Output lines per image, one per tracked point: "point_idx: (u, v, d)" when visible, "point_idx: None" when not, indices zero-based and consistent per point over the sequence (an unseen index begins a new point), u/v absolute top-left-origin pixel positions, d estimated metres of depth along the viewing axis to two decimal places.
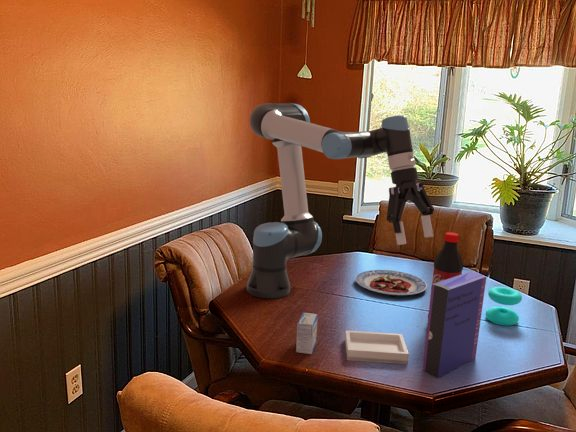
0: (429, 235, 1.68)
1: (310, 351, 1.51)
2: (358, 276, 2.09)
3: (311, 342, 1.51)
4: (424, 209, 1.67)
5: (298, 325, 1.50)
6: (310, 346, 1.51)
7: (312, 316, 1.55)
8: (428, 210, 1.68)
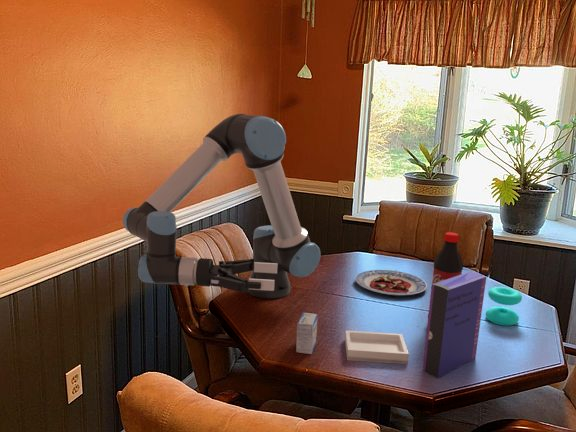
0: None
1: (310, 351, 1.51)
2: (358, 276, 2.09)
3: (311, 342, 1.51)
4: None
5: (298, 325, 1.50)
6: (310, 346, 1.51)
7: (312, 316, 1.55)
8: None
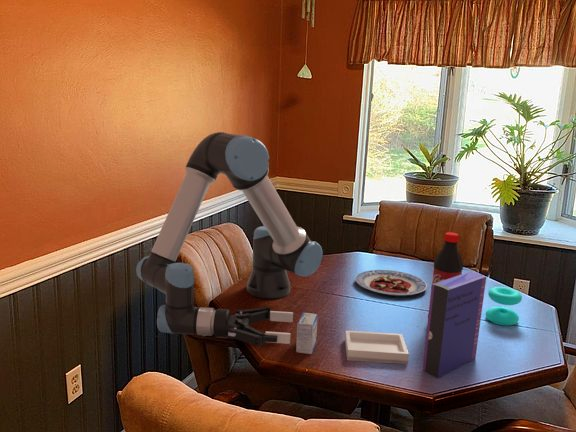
0: None
1: (310, 351, 1.51)
2: (358, 276, 2.09)
3: (311, 342, 1.51)
4: None
5: (298, 325, 1.50)
6: (310, 346, 1.51)
7: (312, 316, 1.55)
8: None
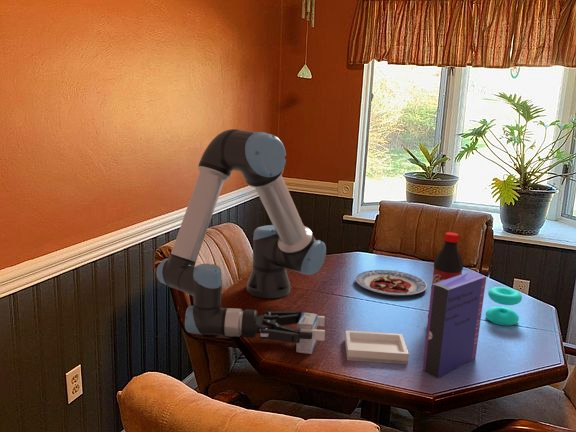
0: None
1: (310, 351, 1.51)
2: (358, 276, 2.09)
3: (311, 342, 1.51)
4: None
5: (298, 325, 1.50)
6: (310, 346, 1.51)
7: (312, 316, 1.55)
8: None
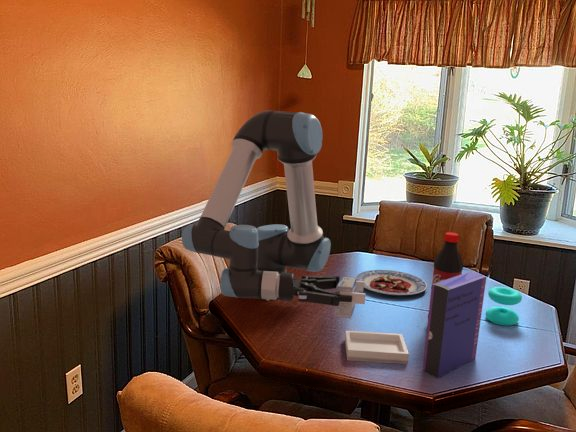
0: None
1: (349, 315, 1.46)
2: (358, 276, 2.09)
3: (350, 306, 1.46)
4: None
5: (337, 288, 1.45)
6: (349, 310, 1.46)
7: (351, 280, 1.50)
8: None
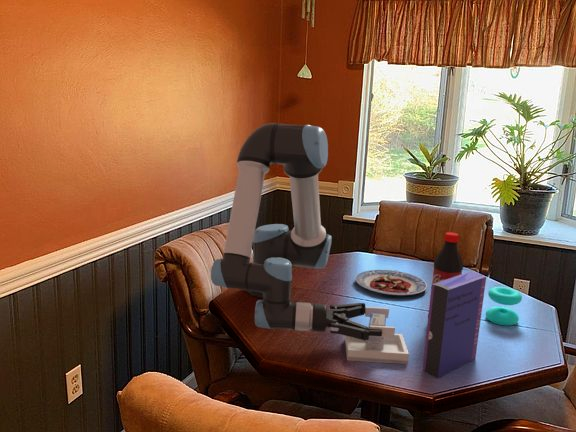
0: None
1: None
2: (358, 276, 2.09)
3: (382, 343, 1.50)
4: None
5: (369, 326, 1.49)
6: (381, 347, 1.50)
7: (381, 317, 1.54)
8: None
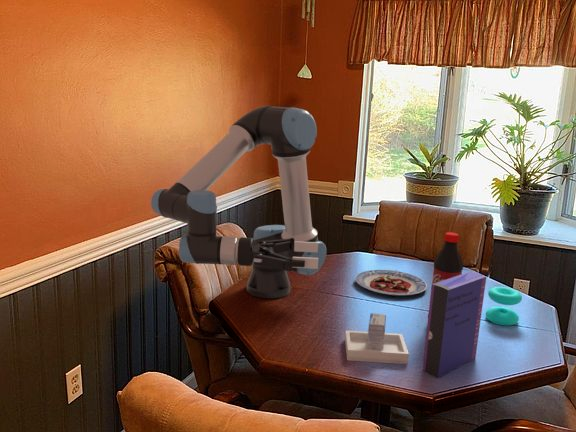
0: None
1: None
2: (358, 276, 2.09)
3: (382, 343, 1.50)
4: None
5: (370, 326, 1.49)
6: (381, 347, 1.50)
7: (381, 317, 1.54)
8: None
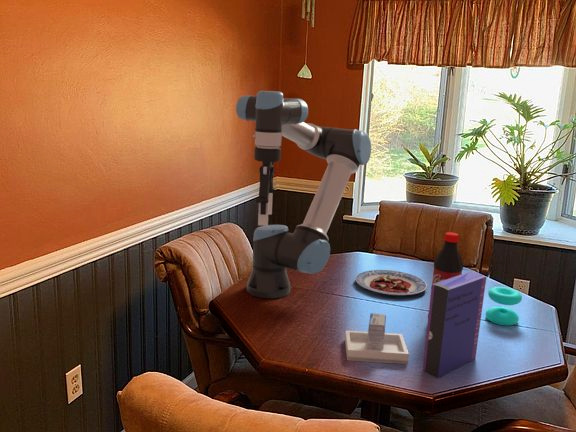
0: None
1: None
2: (358, 276, 2.09)
3: (382, 343, 1.50)
4: None
5: (369, 326, 1.49)
6: (381, 347, 1.50)
7: (381, 317, 1.54)
8: None
